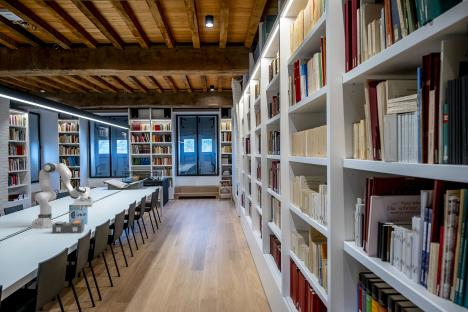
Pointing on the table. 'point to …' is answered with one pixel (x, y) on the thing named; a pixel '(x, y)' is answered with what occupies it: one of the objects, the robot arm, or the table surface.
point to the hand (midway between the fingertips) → (81, 209)
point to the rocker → (76, 222)
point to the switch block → (68, 228)
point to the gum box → (78, 214)
